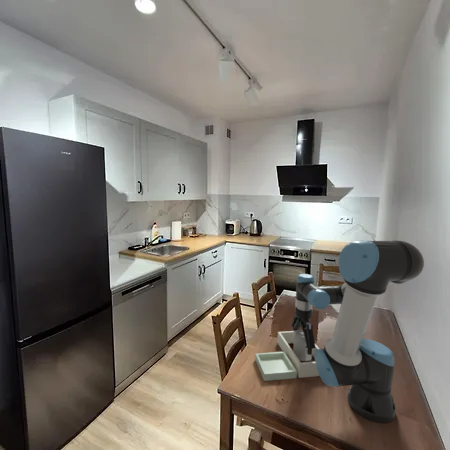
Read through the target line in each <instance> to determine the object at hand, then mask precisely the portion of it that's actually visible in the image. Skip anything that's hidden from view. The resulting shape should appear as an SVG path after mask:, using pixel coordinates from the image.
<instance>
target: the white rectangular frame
mask: <svg viewBox="0 0 450 450" xmlns="http://www.w3.org/2000/svg"><path fill="white" fill-rule="evenodd" d="M301 331H302V329H301ZM290 344H293V330H290V331H277V345H278V346H279V348H280V349H281V352H283V351H285V353H286V355H287V356H288V358H289V359H290V361H291V363H292V364H293V366H294V367H295V369H296V371H297V378H310V377H311V378H312V377H320V375H319V373H318V370H317V367H316V362H315V361H303V362H302V361H299V359H298V358H297V356H296V355H295V353H294V352H293V349H292V347H291V346H290ZM317 349H320V348H319V347H318V345H317V344H316V343H315V348H313V349H312V358H314V359H315V351H316V350H317Z"/></svg>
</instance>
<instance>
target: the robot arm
mask: <svg viewBox="0 0 450 450" xmlns="http://www.w3.org/2000/svg"><path fill="white" fill-rule="evenodd" d="M339 253H340V254H339V256H338V265H339V267H338V270H339V273H340V276H341V277H342V280H343V282H344V283H343V284H340V285H327V286H326V285H321V286H318V285H316V283H315V278H314V276H313V275H312V274H308V273H299V274H297V276H296V285H295V287H296V288H295V303H294V305H295V306H294V308H295V309H294V315H293V319H292V321H291V324H290V325H291V327H292V331H293V343H292V344H293V345H294V334H296V331H300V328H301V330H302V331H303V332H304V336H305V341H306V345H307V346H305V347H306V348H305V361H304V362H310V361H312V358H313V356H312V349H313V348H315V344H316V343H315V335H314V331H313V330H314V329H313V327H314V326H313V323H310V319H312V318H313V307H315V308H316V309H317V310H324V309H325V308H328V306H331V305H340V308H339V311H338V314H337V315H338V316H337V319H336V322H335V325H334V329H333V333H332V336H331V337H329V338H327V339H326V341H325V344H324V347H323V348H319V349H317V350H316V351H315V358H314V362H316V367H317V370H318V373H319V375H320V376H319V377H320V379H321V381H322V382H323V383H324V384H325V385H326V386H327V387H337V388H338V387H344V386H345V387H347V386H350V387H349V389H348V392H347V401H348V404H349V405H350V407H351V408H352V409H353V410H354V411H355V413H358V415H360V416H362V417H363V418H365V419H367V420H369V421H372V422H375V423H379V424H383V423H384V424H385V423H386V424H387V423H390V422H392V421H393V420H394V419H395V417H396V410H397V408H396V404H395V401H394V397H393V392H392V386H393V379H394V378H393V377H394V369H395V355H394V353H393V352H392V350H391V349H390V348H389V347H388V346H385V345H384V344H383V343H381V342H378V341H375V340H372V339H368V338H364V336H365V333H366V330H367V328H368V324H369V322H370V318H371V315H372V313H373V310H374V306H375V304H376V301H377V298H378V296H381V295H384V294H385V293H386V292H387V288H388V287H389V286H391V285H393V284H396V285H400V284H404V283H407V282H409V281H411V280H414V279H415V278H417V277H419V276H420V275H421V273H422V271H423V270H424V265H425V262H424V261H425V260H424V257H423V254H422V253H421V251H420V250H419V249H418V248H417V247H416V246H415V245H414V244H412V243H409V242H407V241H403V240H368V239H367V240H366V239H365V240H363V239H362V240H358V241H352V242H349V243H347V244H346V245H345V246H344V247H343V248H342V249H341V251H340V252H339Z"/></svg>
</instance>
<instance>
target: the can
mask: <svg viewBox="0 0 450 450" xmlns="http://www.w3.org/2000/svg"><path fill="white" fill-rule="evenodd" d="M301 330H302V329H301ZM301 330H300V329H299V331H296V334H294V344H293V349H292V351H293V352H294V353H295V355H296V356H297V358H298V359H299V361H300V362H306V361H305V348H306V347H305V346H307V345H306V341H305V336H304V332H303V331H301Z"/></svg>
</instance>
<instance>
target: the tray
mask: <svg viewBox="0 0 450 450" xmlns="http://www.w3.org/2000/svg"><path fill="white" fill-rule="evenodd" d="M254 356H255V358H254V359H255V363H256V365H257V368H258V369H259V372H260V375H261V377H262V379H263V381H264V382H269V381H278V380H289V379H292V380H293V379H297V378H298V376H297V371H296V369H295V367H294V366H293V364H292V363H291V361H290V359H289V358H288V356H287V355H286V353H285V351H274V352H273V351H272V352H261V353H255V355H254Z"/></svg>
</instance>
